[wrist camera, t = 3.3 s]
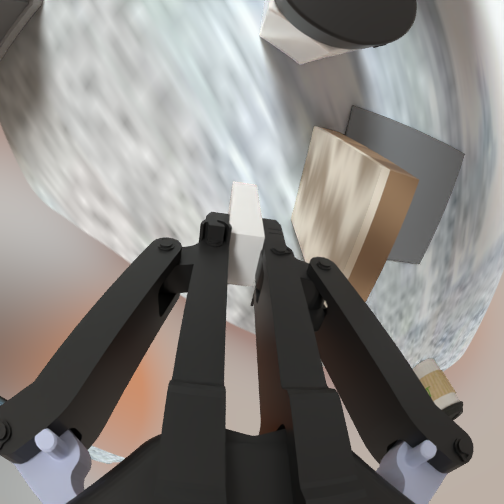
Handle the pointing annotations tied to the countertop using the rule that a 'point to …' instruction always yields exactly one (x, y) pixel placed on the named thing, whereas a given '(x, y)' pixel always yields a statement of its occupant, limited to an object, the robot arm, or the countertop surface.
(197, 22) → the countertop surface
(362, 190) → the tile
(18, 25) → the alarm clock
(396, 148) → the mat
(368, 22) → the jar
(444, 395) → the coffee cup
